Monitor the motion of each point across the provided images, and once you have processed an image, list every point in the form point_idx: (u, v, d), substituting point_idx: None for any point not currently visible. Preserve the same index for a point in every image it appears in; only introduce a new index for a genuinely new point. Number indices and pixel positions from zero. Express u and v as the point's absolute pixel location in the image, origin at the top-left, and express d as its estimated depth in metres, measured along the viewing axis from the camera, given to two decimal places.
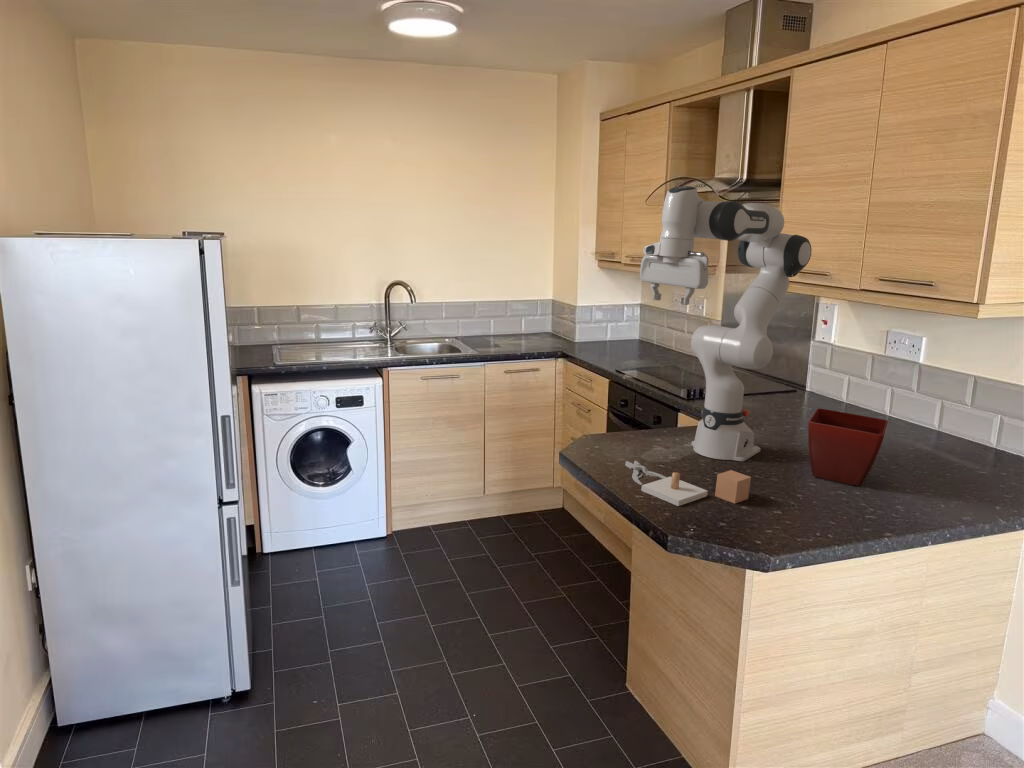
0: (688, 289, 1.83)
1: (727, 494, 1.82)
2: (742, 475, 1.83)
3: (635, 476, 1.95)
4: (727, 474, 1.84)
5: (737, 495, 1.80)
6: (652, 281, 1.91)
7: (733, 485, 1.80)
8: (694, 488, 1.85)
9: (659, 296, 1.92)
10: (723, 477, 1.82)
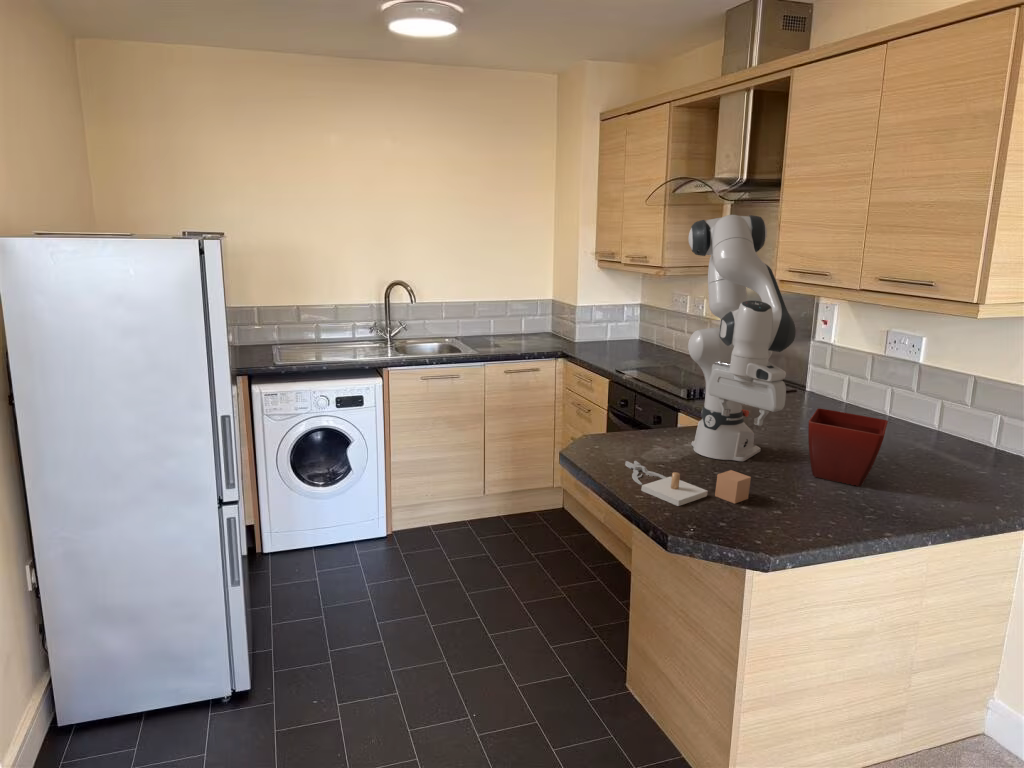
0: None
1: (727, 494, 1.82)
2: (742, 475, 1.83)
3: (635, 476, 1.95)
4: (727, 474, 1.84)
5: (737, 495, 1.80)
6: None
7: (733, 485, 1.80)
8: (694, 488, 1.85)
9: None
10: (723, 477, 1.82)
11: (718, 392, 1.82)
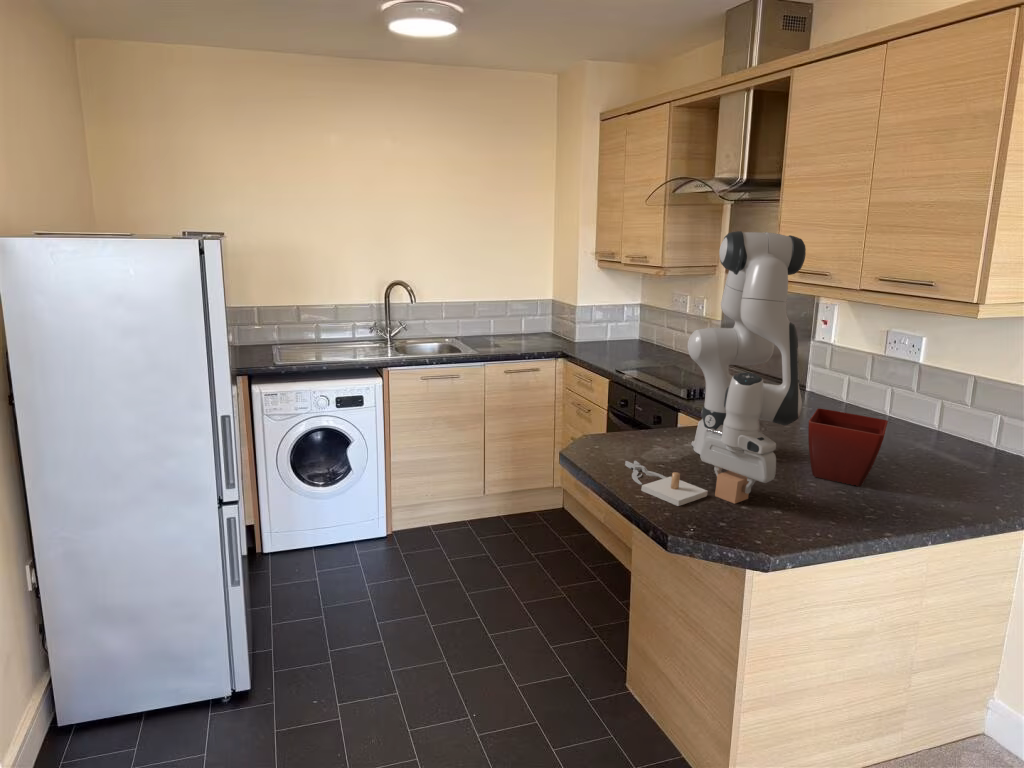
0: None
1: (727, 494, 1.82)
2: (742, 475, 1.83)
3: (635, 476, 1.95)
4: (727, 474, 1.84)
5: (737, 495, 1.80)
6: None
7: (733, 485, 1.80)
8: (694, 488, 1.85)
9: None
10: (723, 477, 1.82)
11: (710, 460, 1.86)
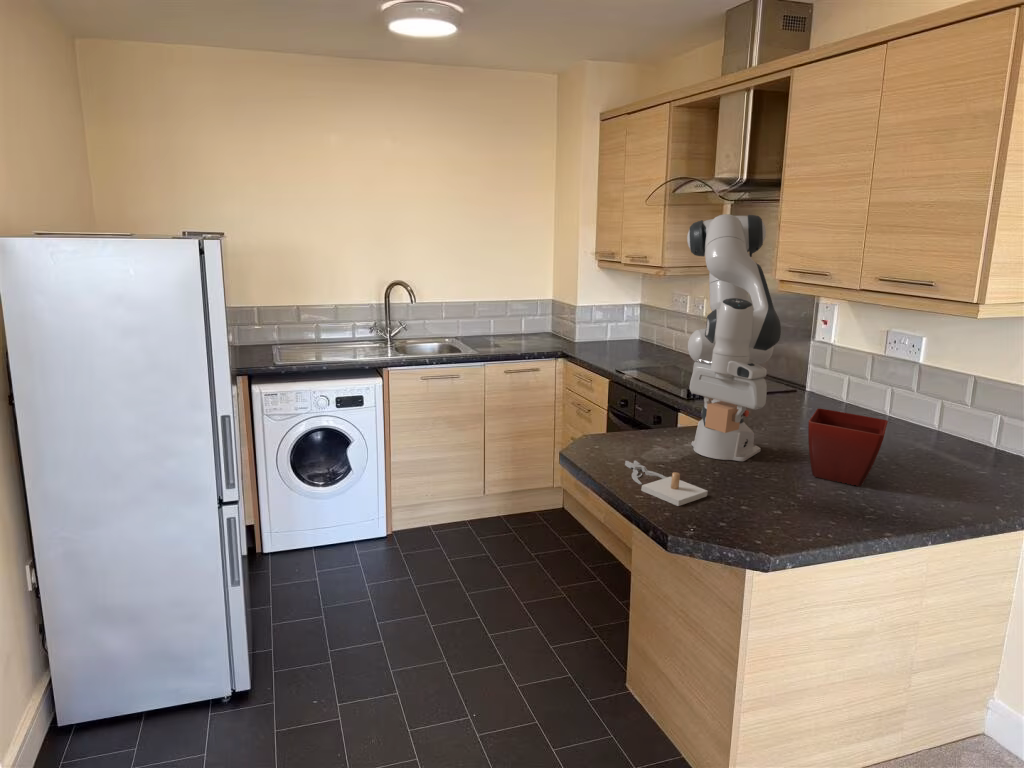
0: None
1: (717, 424, 1.77)
2: (733, 405, 1.79)
3: (635, 476, 1.95)
4: (718, 404, 1.79)
5: (728, 424, 1.76)
6: None
7: (724, 414, 1.75)
8: (694, 488, 1.85)
9: None
10: (713, 406, 1.78)
11: (700, 390, 1.82)
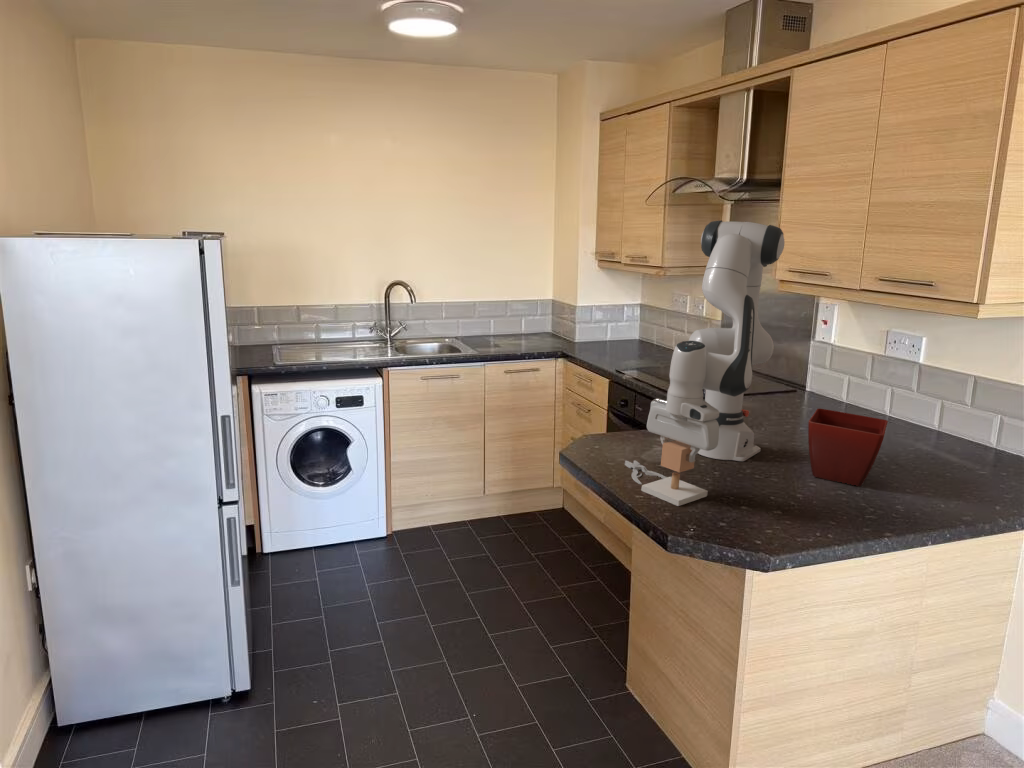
0: None
1: (672, 463, 1.80)
2: (687, 444, 1.82)
3: (634, 475, 1.95)
4: (673, 443, 1.83)
5: (682, 464, 1.79)
6: None
7: (678, 454, 1.79)
8: (694, 488, 1.85)
9: None
10: (668, 446, 1.81)
11: (656, 429, 1.85)
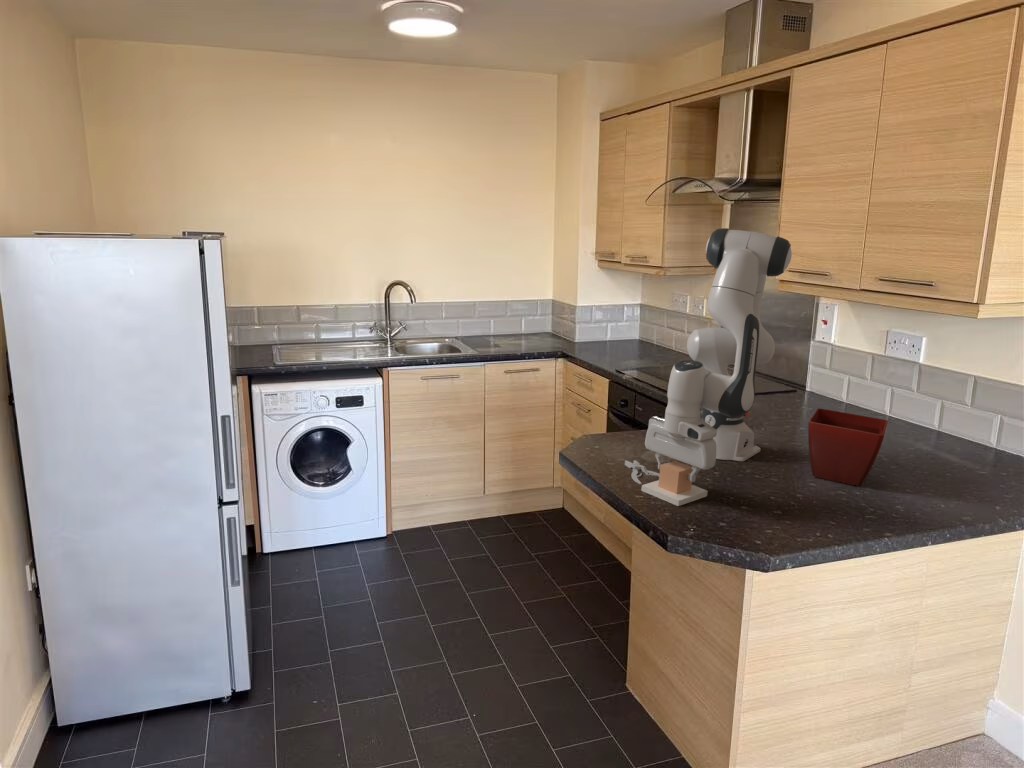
0: None
1: (669, 484, 1.82)
2: (685, 466, 1.84)
3: (634, 475, 1.95)
4: (671, 464, 1.84)
5: (679, 485, 1.80)
6: None
7: (675, 475, 1.80)
8: (694, 488, 1.85)
9: None
10: (665, 468, 1.82)
11: (654, 447, 1.86)
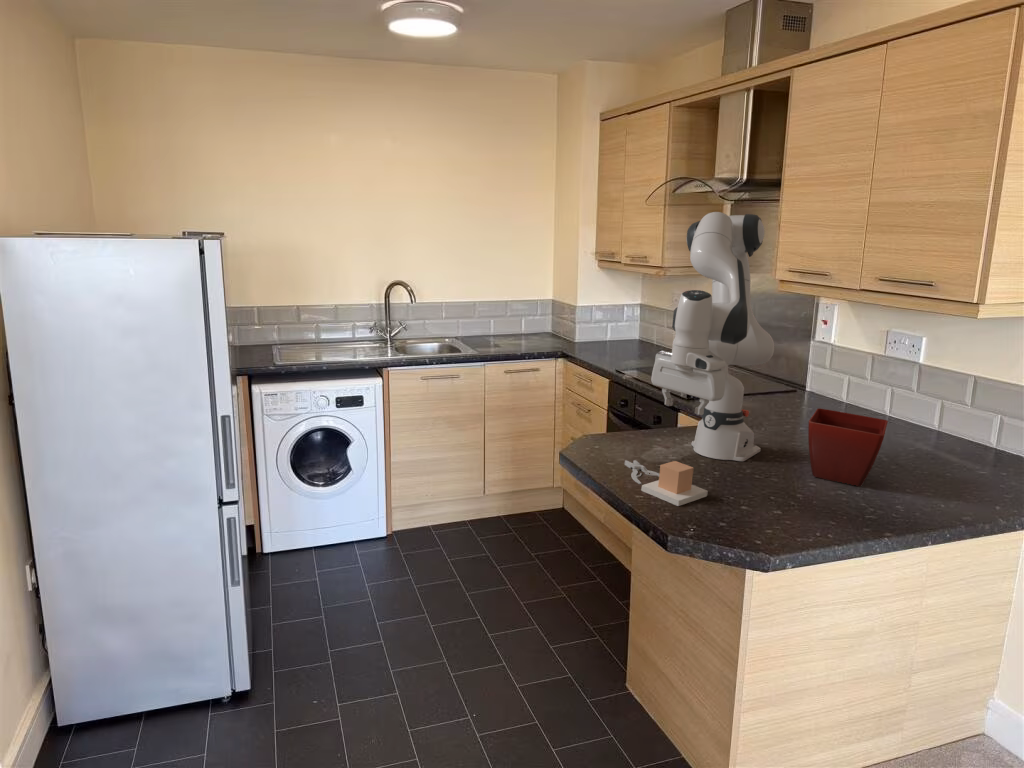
0: None
1: (669, 484, 1.82)
2: (685, 466, 1.84)
3: (634, 475, 1.95)
4: (671, 464, 1.84)
5: (679, 485, 1.80)
6: None
7: (675, 475, 1.80)
8: (694, 488, 1.85)
9: None
10: (665, 468, 1.82)
11: (661, 382, 1.82)
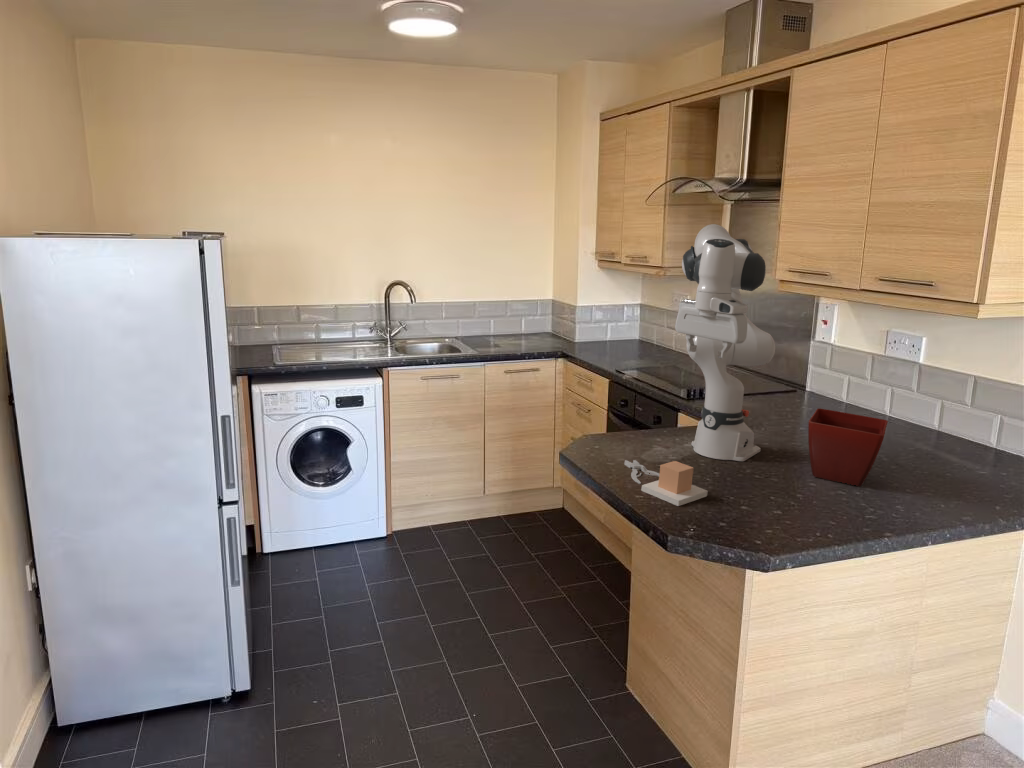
0: None
1: (669, 484, 1.82)
2: (685, 466, 1.84)
3: (634, 475, 1.95)
4: (671, 464, 1.84)
5: (679, 485, 1.80)
6: None
7: (675, 475, 1.80)
8: (694, 488, 1.85)
9: None
10: (665, 468, 1.82)
11: (684, 329, 1.90)
